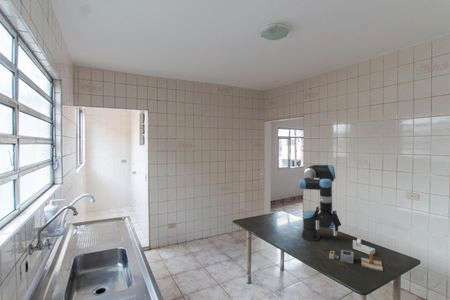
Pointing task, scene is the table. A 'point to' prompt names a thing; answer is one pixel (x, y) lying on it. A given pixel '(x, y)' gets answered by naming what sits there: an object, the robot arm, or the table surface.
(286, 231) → the table surface
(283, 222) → the table surface
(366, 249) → the bracket
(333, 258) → the beige box with knob
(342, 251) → the link
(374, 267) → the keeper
